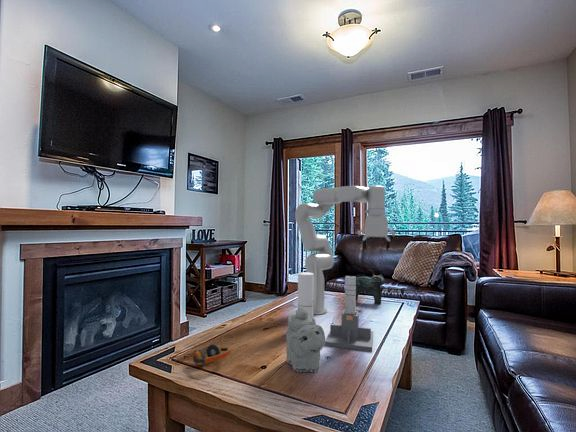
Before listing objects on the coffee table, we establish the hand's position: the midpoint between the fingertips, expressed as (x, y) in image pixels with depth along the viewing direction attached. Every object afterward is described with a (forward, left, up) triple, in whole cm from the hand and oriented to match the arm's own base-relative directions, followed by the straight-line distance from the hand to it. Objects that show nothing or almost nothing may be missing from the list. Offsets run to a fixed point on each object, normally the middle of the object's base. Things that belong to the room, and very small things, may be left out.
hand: (376, 249), depth 143 cm
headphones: (-56, -53, -37) cm, 86 cm away
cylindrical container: (-31, -10, -36) cm, 49 cm away
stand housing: (-10, -18, -36) cm, 42 cm away
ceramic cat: (-6, +48, -37) cm, 61 cm away
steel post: (-10, -18, -28) cm, 35 cm away
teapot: (-22, -48, -36) cm, 64 cm away
